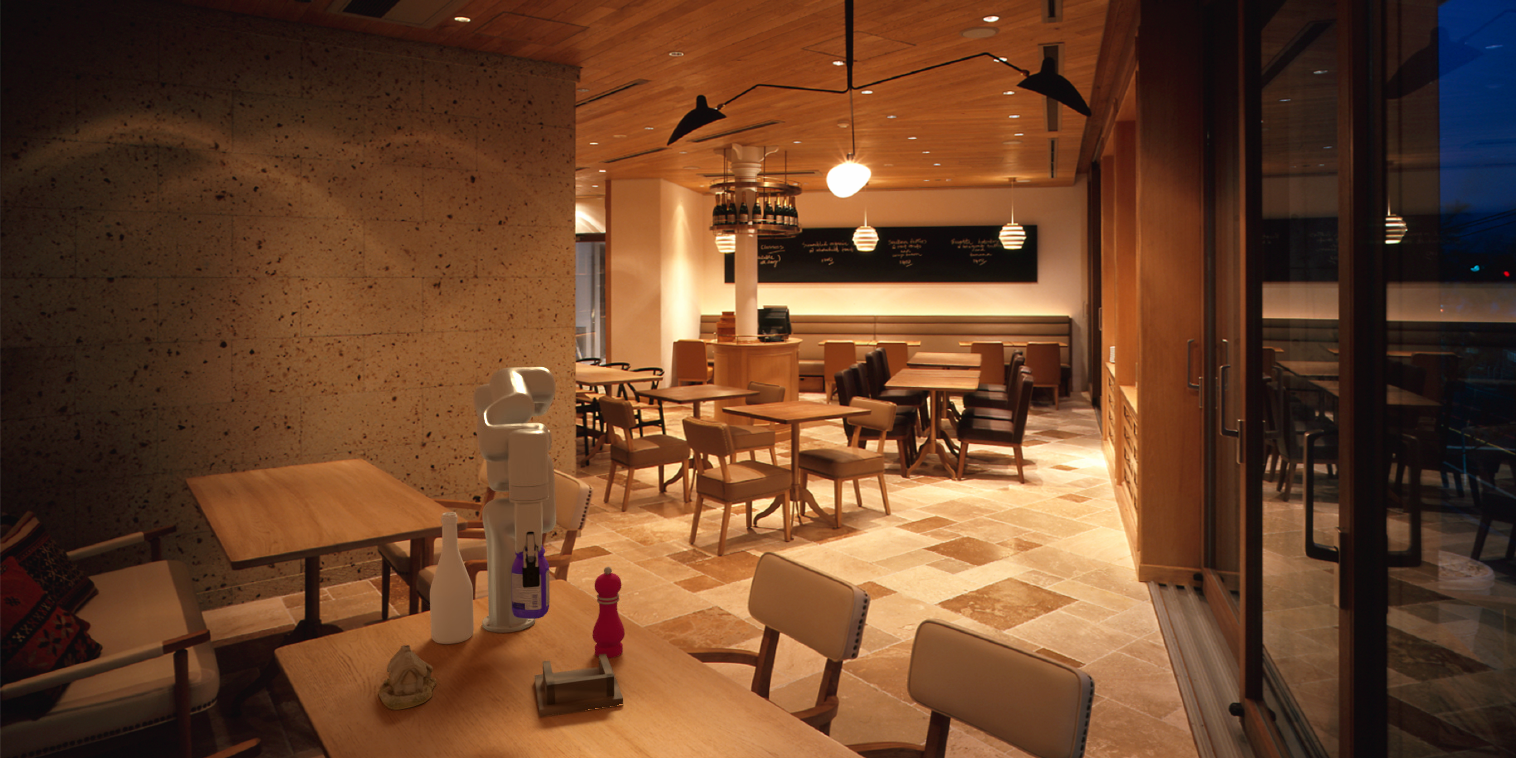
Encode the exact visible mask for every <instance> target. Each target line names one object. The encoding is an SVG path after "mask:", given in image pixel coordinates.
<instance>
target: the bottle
mask: <svg viewBox="0 0 1516 758" xmlns="http://www.w3.org/2000/svg"><path fill="white" fill-rule="evenodd" d="M533 533H534V532H533ZM535 550H536V543H535V548H534V551H535ZM525 551H528V549H525ZM545 553H546V549H545V547H544V545H542V546H541V551H540V552H538V566H539V572H540V585H539V586H538V587H528V588H524V587H523V578H522V567H524V561H523V551H522V552H519V554H517V553H516V551H515V554H516V555H517V556H516V558H515V560H514V563H513V565H512V569H511V575H512V576H511V578H512V612H513V614H514V616H515V617H518V618H527V619H535V620H536V619H537V620H538V619H541V618H543V617H544V616H546V615H547V614H548V612H549V609H550V565H549V562H548V560H547V559H546V557H545ZM534 556H535V554H534ZM526 557H528V555H526ZM526 563H527V562H526ZM526 567H527V566H526Z"/></svg>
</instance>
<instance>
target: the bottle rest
mask: <svg viewBox="0 0 1516 758" xmlns="http://www.w3.org/2000/svg"><path fill="white" fill-rule="evenodd" d="M614 672H615V671H614V669H613V667H612V665H611V663H610V661H609V658H607V655H606V654H600V655H599V657H598V666H597V667H596V666H595V667H588V668H582V669H581V668H580V669H574V670H565V671H556V672H553V668H552V663H551V660H545V661H542V674H534V687H535V693H536V700H537V707H538V713H539V718H544V717H552V716H558V714H559V715H566V714H573V713H579V712H580V713H581V712H586V711H585V710H587V711H589V710H588V709H594V710H596V709H595V708H601V709H603V708H602V707H608V708H611V707H610V706H615V707H618V706H617V705H619V704H623V705H624V697H623V694H622V692H621V688H620V686H619V683H618V681H617V680H618V679H617V678H616V675H615V673H614Z"/></svg>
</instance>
